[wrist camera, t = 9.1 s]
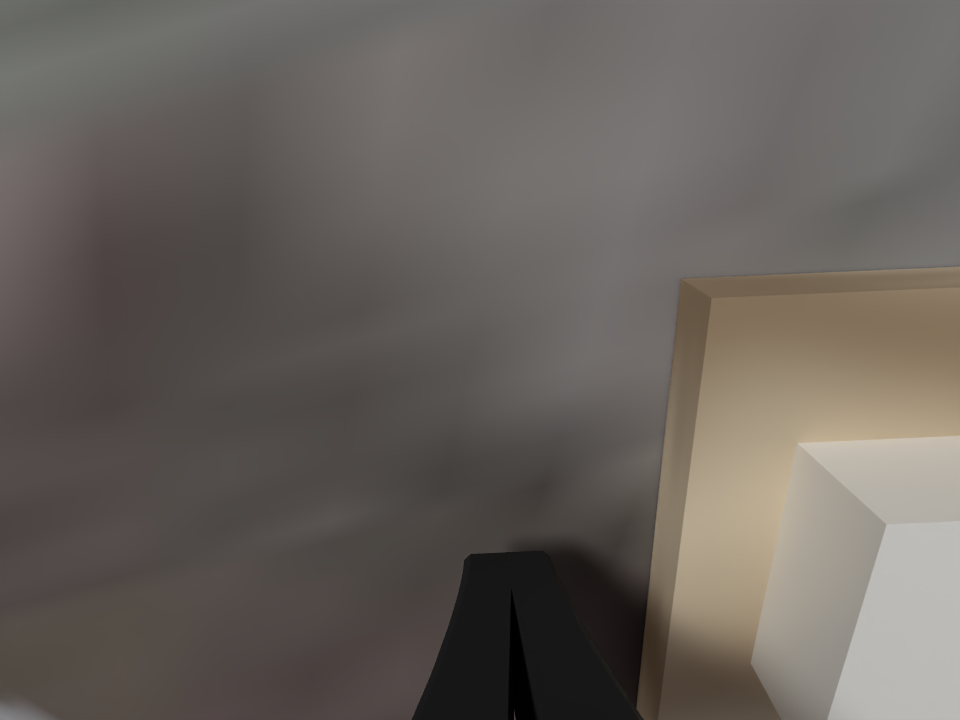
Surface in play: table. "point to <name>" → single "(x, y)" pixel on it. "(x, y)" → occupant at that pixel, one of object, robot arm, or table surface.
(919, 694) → the cream tile
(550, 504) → the table surface
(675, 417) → the oak board
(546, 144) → the table surface
